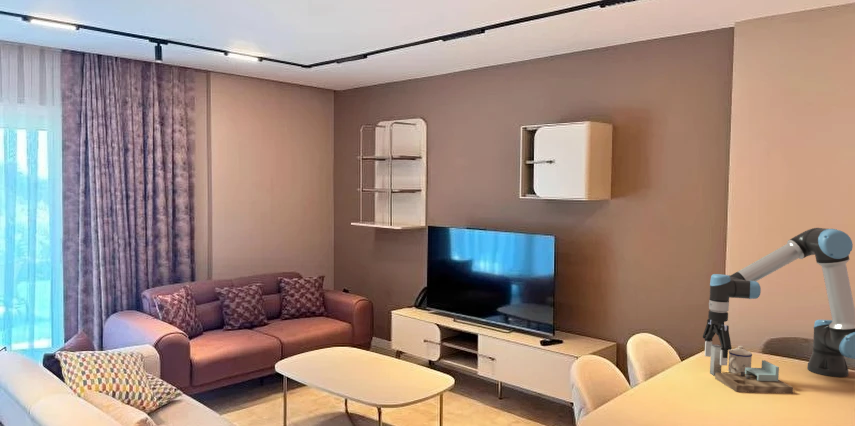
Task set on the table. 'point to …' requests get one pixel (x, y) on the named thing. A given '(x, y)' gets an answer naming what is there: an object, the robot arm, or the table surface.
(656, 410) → the table surface
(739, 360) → the teacup with lid
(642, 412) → the table surface
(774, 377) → the cover
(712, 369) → the pin
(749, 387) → the base
